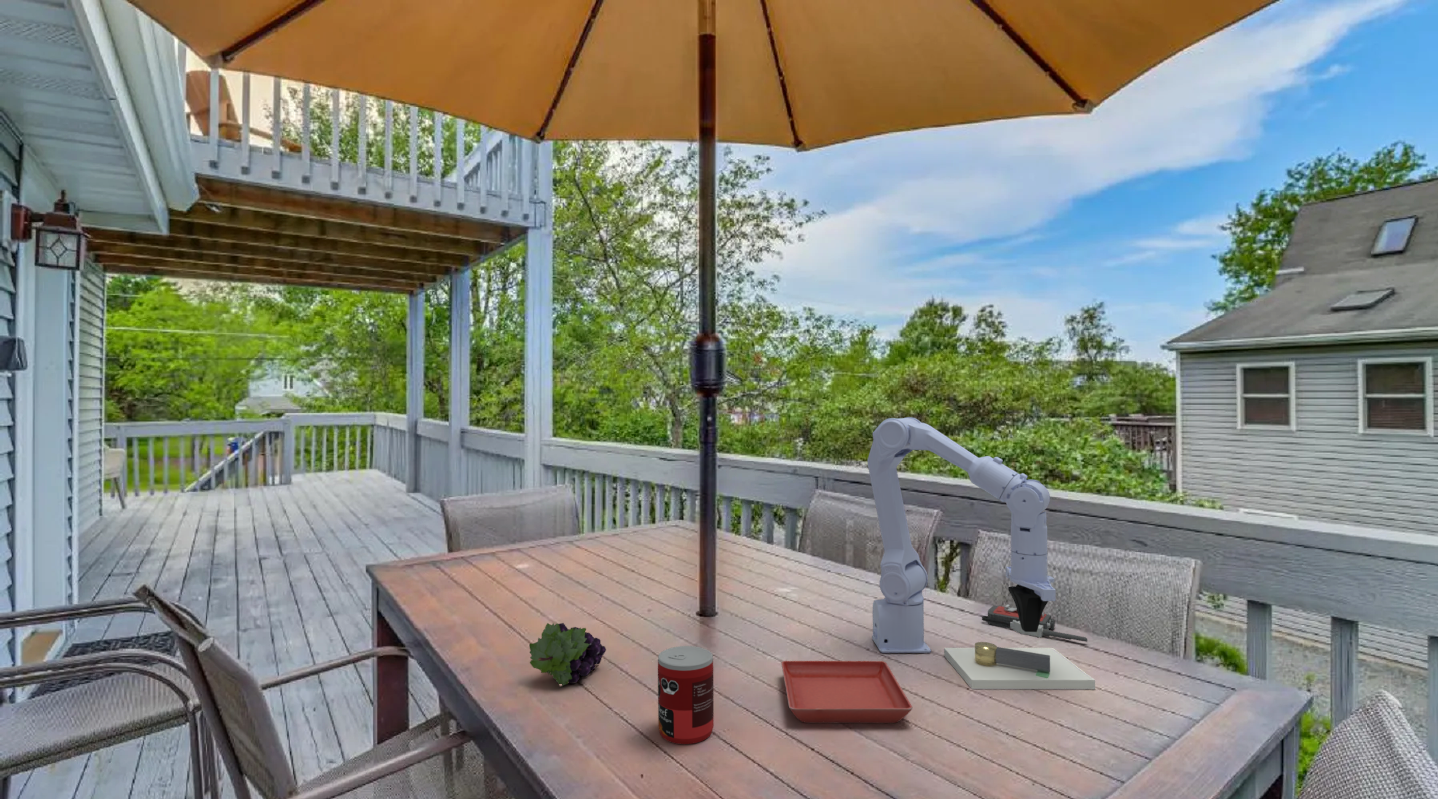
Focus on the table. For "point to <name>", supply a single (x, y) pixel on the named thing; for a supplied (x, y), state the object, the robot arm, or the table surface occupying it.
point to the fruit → (566, 653)
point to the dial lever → (1010, 657)
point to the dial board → (1018, 672)
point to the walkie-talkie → (1011, 620)
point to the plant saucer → (844, 692)
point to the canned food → (685, 694)
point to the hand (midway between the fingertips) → (1029, 630)
